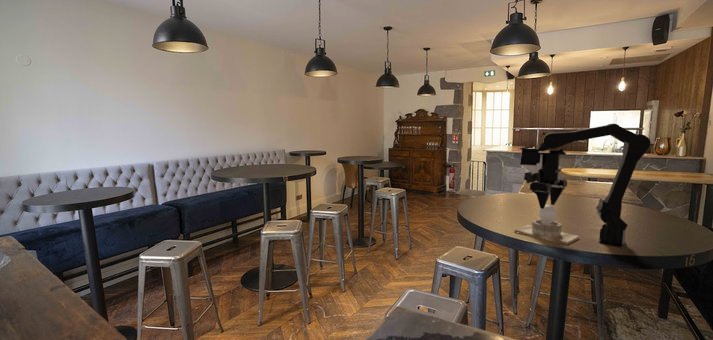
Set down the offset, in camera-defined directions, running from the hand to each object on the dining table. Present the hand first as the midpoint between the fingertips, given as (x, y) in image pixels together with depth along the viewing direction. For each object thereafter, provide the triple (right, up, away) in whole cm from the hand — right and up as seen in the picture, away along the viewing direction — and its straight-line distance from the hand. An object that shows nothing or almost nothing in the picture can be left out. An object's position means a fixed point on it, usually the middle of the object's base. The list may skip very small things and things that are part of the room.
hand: (547, 206), depth 130 cm
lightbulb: (0, -10, +1) cm, 11 cm away
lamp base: (0, -11, +1) cm, 11 cm away
